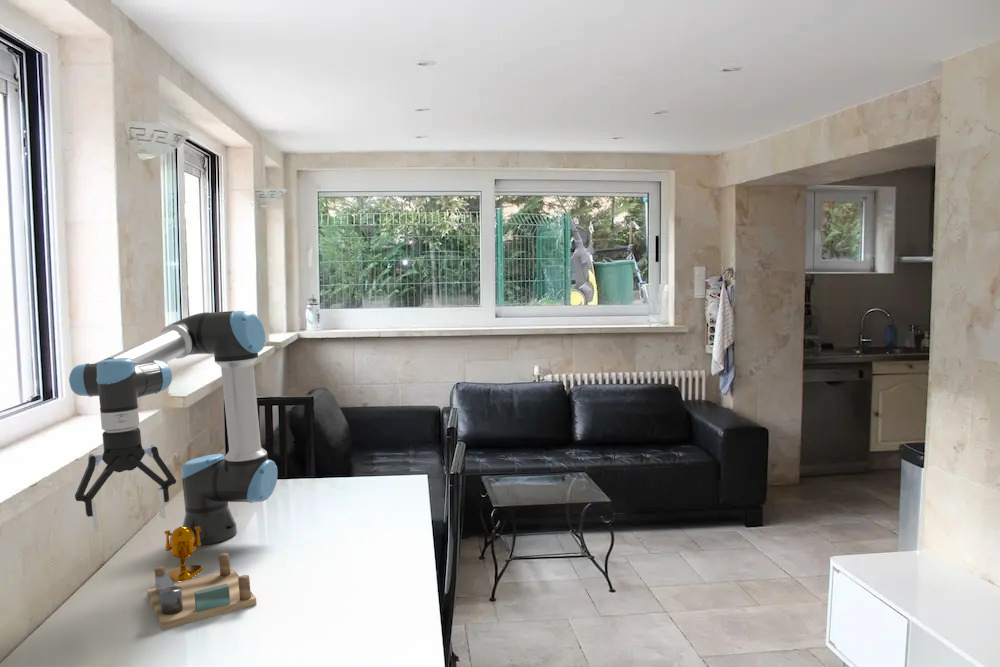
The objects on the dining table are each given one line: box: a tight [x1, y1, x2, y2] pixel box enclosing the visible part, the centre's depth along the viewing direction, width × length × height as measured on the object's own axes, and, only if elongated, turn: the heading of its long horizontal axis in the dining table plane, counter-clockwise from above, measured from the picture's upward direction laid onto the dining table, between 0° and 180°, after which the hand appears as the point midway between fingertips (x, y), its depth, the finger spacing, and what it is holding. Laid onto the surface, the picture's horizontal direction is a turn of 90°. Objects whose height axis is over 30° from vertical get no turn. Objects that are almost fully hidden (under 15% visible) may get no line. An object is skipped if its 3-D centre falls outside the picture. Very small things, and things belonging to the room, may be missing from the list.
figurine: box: [164, 525, 205, 582], centre depth 200 cm, size 8×11×12 cm
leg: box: [154, 573, 183, 614], centre depth 179 cm, size 15×4×4 cm, turn 31°
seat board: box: [146, 552, 257, 630], centre depth 183 cm, size 22×20×6 cm
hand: (130, 523), depth 175 cm, fingers open, 13 cm apart
